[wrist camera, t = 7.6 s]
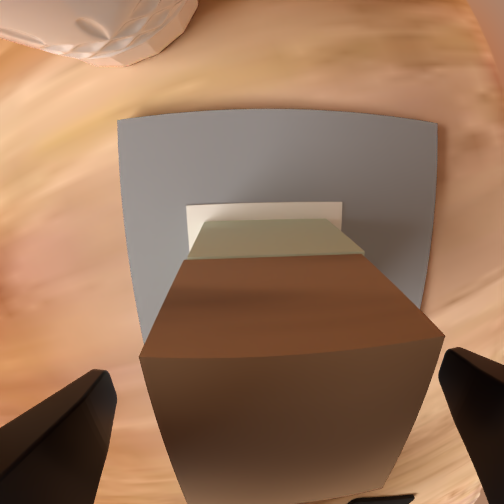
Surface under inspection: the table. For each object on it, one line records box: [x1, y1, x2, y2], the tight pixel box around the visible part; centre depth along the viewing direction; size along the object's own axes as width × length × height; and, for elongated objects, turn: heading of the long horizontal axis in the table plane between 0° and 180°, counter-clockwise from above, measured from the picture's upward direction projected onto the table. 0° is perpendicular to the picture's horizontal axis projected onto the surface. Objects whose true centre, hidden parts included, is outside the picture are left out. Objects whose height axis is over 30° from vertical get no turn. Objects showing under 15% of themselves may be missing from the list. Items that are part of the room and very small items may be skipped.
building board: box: [117, 109, 438, 344], centre depth 15 cm, size 16×14×1 cm
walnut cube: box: [139, 254, 445, 504], centre depth 7 cm, size 5×5×4 cm
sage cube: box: [187, 219, 365, 260], centre depth 12 cm, size 5×5×4 cm
